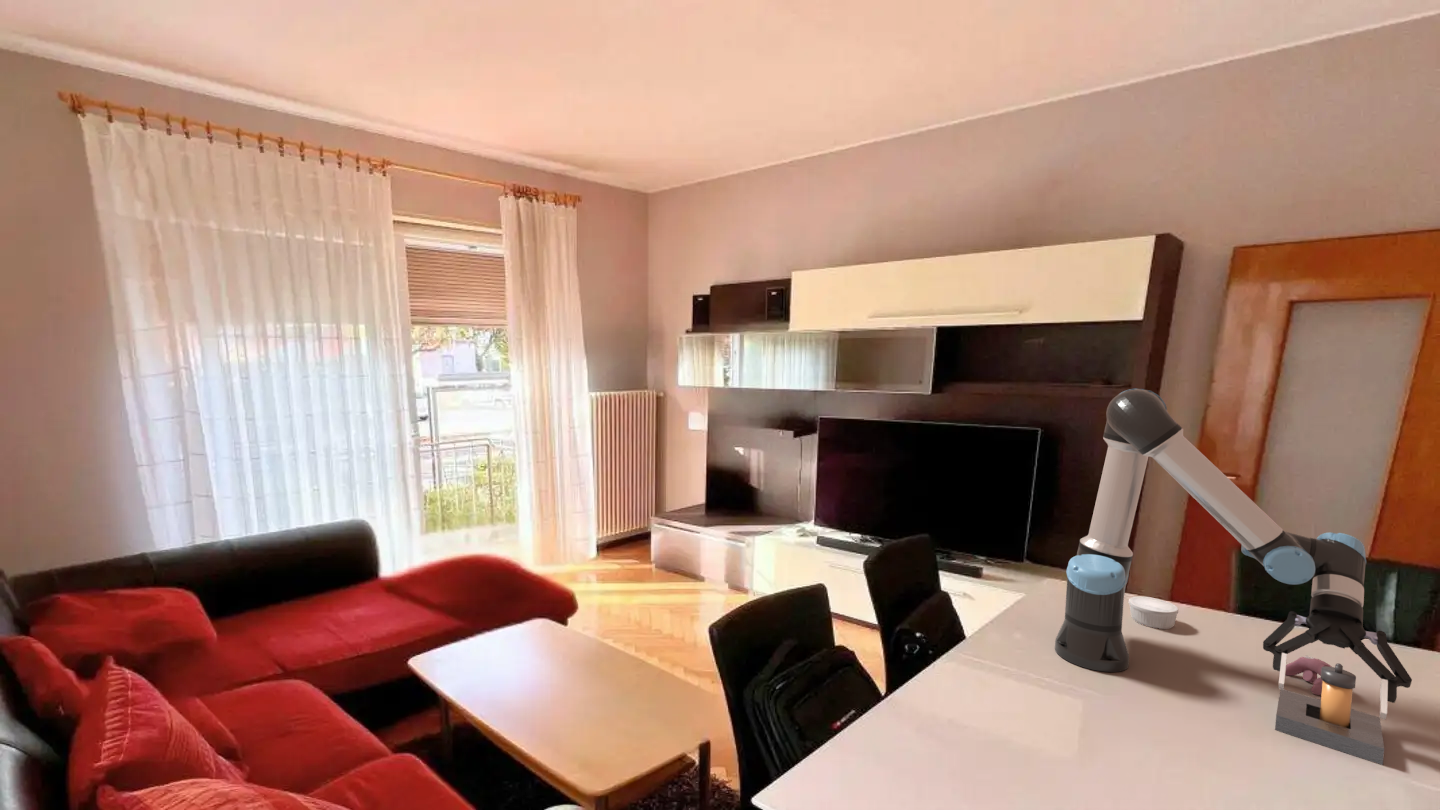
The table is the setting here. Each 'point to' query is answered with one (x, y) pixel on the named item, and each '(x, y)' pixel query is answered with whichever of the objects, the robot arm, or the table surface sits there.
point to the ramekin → (1153, 612)
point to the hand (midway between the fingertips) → (1330, 700)
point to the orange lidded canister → (1336, 695)
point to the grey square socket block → (1330, 727)
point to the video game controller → (1308, 671)
